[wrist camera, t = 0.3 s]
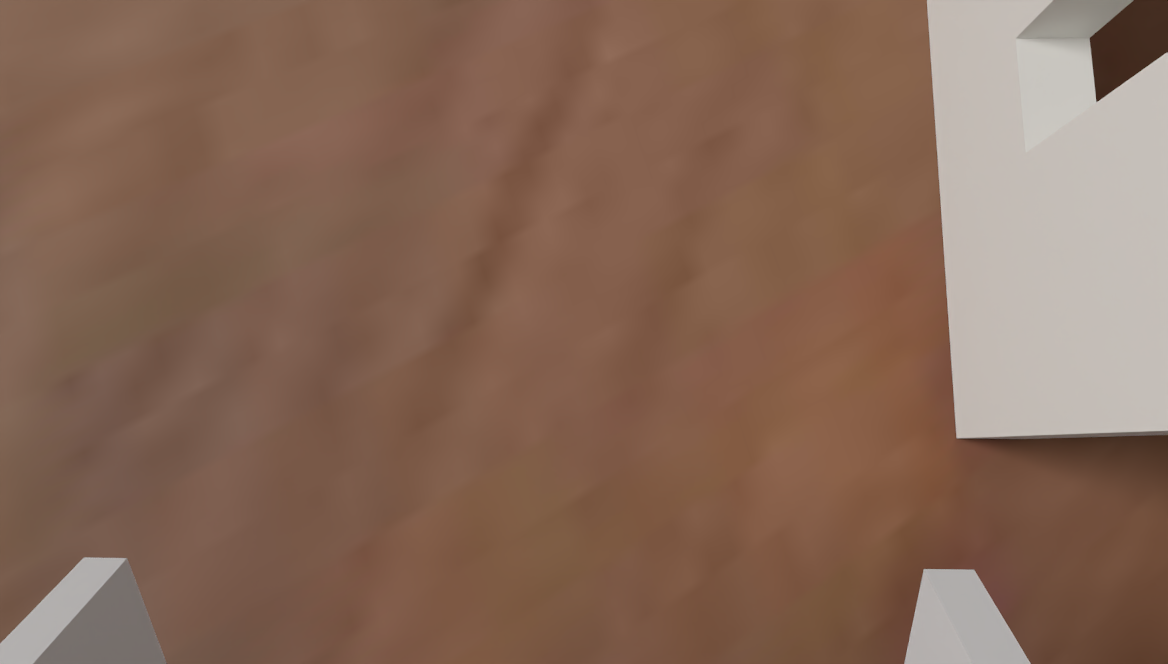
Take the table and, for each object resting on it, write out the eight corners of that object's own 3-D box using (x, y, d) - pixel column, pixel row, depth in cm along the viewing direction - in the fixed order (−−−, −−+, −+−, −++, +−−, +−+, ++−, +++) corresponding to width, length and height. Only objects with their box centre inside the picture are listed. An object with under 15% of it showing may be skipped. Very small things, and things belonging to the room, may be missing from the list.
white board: (1020, 439, 28) (1325, 430, 16) (956, 438, 28) (1213, 429, 16) (978, -77, 31) (1202, -396, 20) (921, -77, 32) (1111, -394, 20)
